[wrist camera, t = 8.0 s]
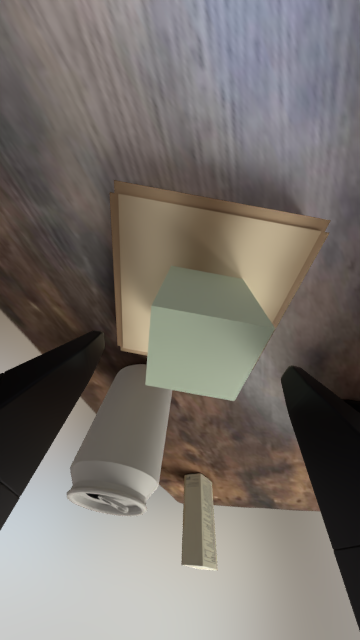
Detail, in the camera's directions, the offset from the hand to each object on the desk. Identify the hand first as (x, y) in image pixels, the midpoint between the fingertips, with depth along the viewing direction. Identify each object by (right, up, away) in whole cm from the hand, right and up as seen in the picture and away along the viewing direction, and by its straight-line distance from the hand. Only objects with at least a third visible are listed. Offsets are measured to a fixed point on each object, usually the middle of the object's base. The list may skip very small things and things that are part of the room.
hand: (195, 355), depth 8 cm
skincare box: (+4, -35, +32) cm, 48 cm away
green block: (+1, +3, +5) cm, 6 cm away
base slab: (+1, +5, +7) cm, 9 cm away
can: (-5, -6, +15) cm, 17 cm away
